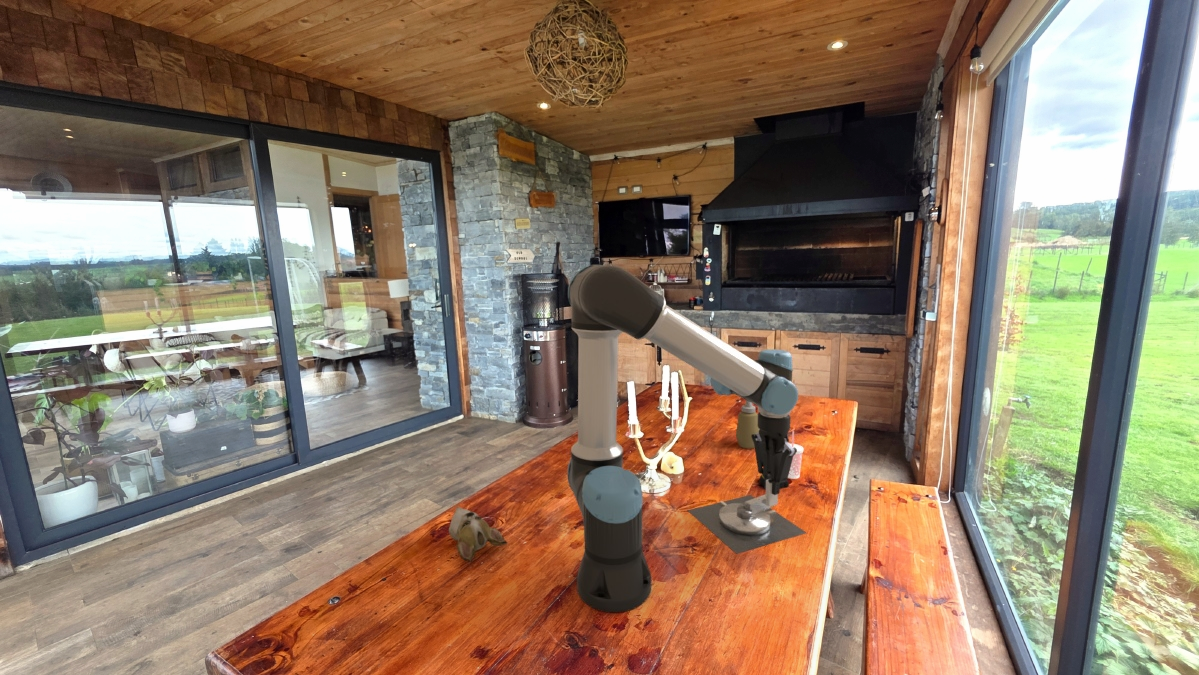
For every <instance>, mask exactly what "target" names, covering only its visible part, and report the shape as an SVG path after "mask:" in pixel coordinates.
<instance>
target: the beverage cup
mask: <svg viewBox="0 0 1199 675" xmlns="http://www.w3.org/2000/svg"><path fill="white" fill-rule="evenodd" d="M791 434H792V435H791V443H790V442H789V444H790V445H791V447H792V448H794V447H795V448H796V449H797V452H796V454H795V455H794V456H793V460H792V463H791V467H790V471H789V475H788V479H792V480H795V479H800V476H801V466H802V461H803V460H802V459H803V452H804V447H803V446H802V445H800V444H796V443H795V442H794V441H795V431H794V430H792V432H791Z"/></svg>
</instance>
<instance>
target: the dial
mask: <svg viewBox="0 0 1199 675" xmlns="http://www.w3.org/2000/svg"><path fill="white" fill-rule="evenodd" d="M765 504H766V493H765V494H762V495H759V496H757V497H754V499H751V500H748V501H746V502H745V504H744V503H733V504H728V505H726V506H724V507H722V508H721V509H720V512H719V520H720V523H721V524H722V525H723V526H724V527H725V528H727V529H728V530H730V531H733V532H735V533H739V534H744V535H758V534H762V533H764V532H766V531H768V529H769V528H770V516H769V514H768V513H767V512H766V511H764V510H766V509H769V508H771V509H772V508H774V507H775V505H774V506H771V507H769V506H767V505H765Z"/></svg>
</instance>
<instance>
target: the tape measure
mask: <svg viewBox="0 0 1199 675" xmlns="http://www.w3.org/2000/svg"><path fill="white" fill-rule="evenodd" d="M764 481H765V478H764V477H763V474H762V473H761V475H760V477H759V481H758V482H759V484H760V485H761V486H762V487H764ZM788 487H790V483H789V481H788V480H787V481H785V482H781V483H780V490H781V489H784V488H788Z"/></svg>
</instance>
